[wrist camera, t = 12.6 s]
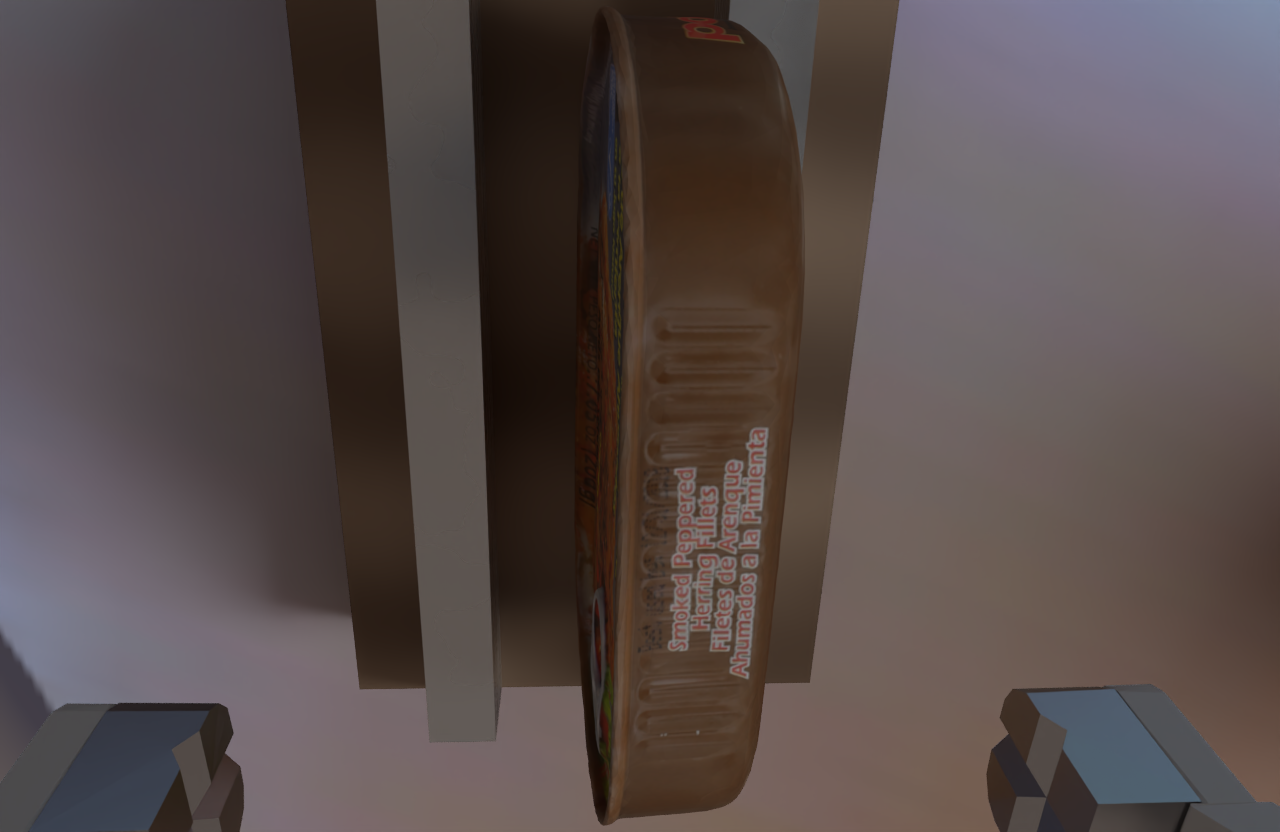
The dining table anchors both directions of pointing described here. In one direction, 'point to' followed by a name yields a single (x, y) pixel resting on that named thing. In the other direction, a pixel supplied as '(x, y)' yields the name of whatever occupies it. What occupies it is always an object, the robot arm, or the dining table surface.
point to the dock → (527, 317)
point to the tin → (681, 401)
